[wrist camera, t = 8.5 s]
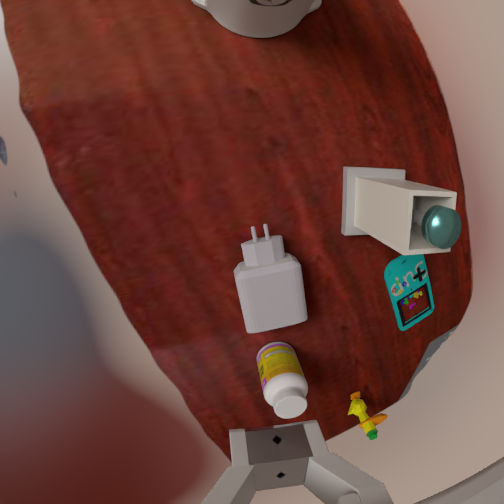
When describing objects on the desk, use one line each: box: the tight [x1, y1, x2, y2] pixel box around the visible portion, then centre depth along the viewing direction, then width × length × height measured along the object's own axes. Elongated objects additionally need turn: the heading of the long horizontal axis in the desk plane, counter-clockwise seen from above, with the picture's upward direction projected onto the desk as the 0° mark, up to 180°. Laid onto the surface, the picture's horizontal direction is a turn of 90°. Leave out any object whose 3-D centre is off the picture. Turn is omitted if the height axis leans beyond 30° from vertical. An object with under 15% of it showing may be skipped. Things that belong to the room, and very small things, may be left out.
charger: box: [234, 224, 308, 333], centre depth 46 cm, size 5×9×15 cm
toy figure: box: [348, 392, 387, 440], centre depth 53 cm, size 7×4×12 cm, turn 105°
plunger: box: [411, 196, 461, 249], centre depth 35 cm, size 5×5×12 cm
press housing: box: [341, 167, 457, 255], centre depth 39 cm, size 10×10×16 cm
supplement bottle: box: [257, 342, 308, 418], centre depth 47 cm, size 7×7×13 cm
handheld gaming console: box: [384, 254, 434, 331], centre depth 52 cm, size 8×1×15 cm
